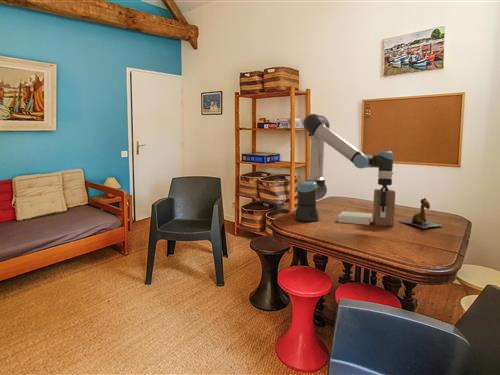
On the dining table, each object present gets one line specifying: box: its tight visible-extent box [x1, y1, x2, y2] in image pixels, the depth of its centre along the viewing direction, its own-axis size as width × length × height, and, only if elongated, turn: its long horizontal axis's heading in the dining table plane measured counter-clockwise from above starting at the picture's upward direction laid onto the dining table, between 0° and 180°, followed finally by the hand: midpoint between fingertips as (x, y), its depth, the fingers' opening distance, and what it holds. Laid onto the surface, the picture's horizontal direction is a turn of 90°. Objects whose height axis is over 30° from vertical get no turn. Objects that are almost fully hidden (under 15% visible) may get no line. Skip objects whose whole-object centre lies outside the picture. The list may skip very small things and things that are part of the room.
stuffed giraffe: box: [397, 197, 443, 229], centre depth 200 cm, size 16×18×16 cm
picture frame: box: [337, 210, 373, 226], centre depth 208 cm, size 18×18×4 cm
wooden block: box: [372, 188, 396, 227], centre depth 198 cm, size 10×10×20 cm
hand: (383, 215), depth 198 cm, fingers closed on wooden block, 11 cm apart
